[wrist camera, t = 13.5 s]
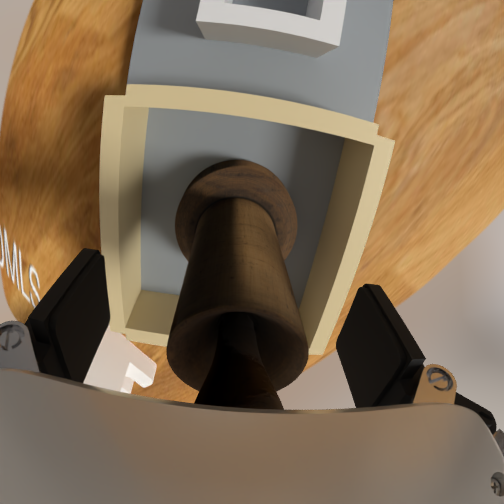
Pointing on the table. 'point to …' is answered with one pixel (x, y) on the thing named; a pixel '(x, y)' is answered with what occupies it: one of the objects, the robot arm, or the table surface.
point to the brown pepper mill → (237, 289)
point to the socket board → (244, 143)
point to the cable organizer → (119, 365)
